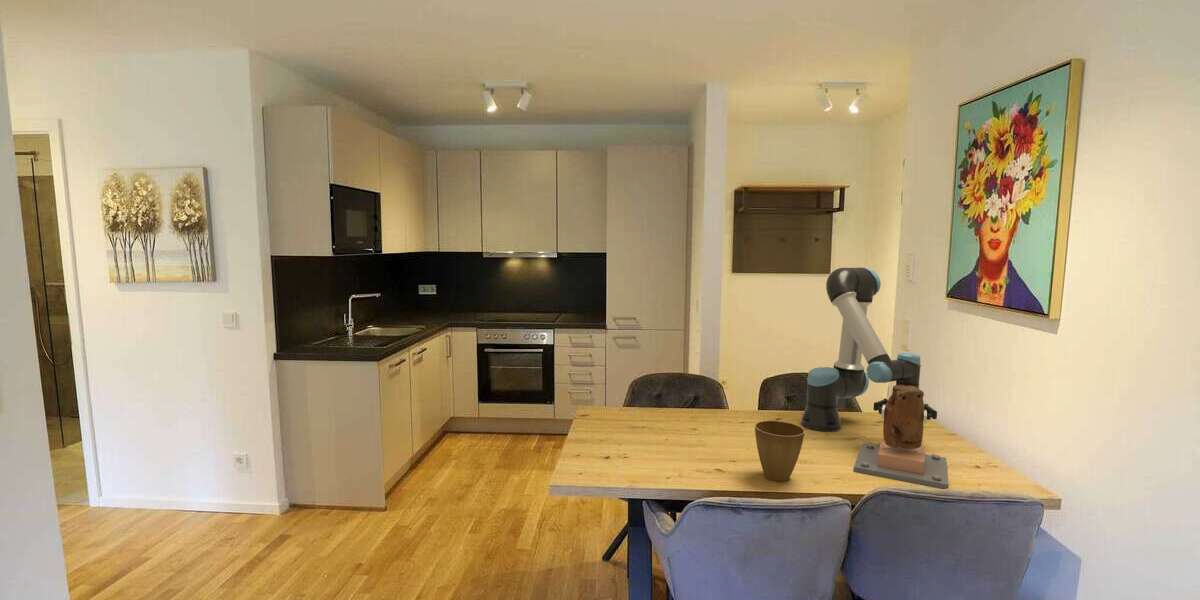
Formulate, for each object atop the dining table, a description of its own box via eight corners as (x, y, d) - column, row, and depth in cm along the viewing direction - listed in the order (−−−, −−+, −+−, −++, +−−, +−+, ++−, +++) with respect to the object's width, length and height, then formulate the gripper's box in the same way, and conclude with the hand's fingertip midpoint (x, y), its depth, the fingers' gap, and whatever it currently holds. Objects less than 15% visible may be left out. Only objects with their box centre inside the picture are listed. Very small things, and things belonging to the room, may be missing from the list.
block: (910, 442, 188) (914, 384, 186) (924, 450, 181) (928, 389, 179) (879, 442, 188) (882, 384, 186) (892, 450, 180) (895, 390, 178)
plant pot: (750, 482, 170) (752, 431, 169) (755, 465, 184) (757, 418, 183) (802, 490, 165) (804, 437, 164) (803, 472, 179) (805, 423, 178)
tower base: (853, 471, 180) (854, 454, 180) (861, 447, 202) (862, 432, 202) (948, 489, 167) (949, 471, 167) (945, 461, 189) (946, 446, 189)
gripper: (944, 416, 193) (945, 434, 174) (868, 406, 205) (862, 421, 186) (945, 395, 192) (947, 411, 174) (869, 386, 204) (863, 399, 186)
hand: (903, 416), depth 180 cm, fingers closed on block, 11 cm apart
